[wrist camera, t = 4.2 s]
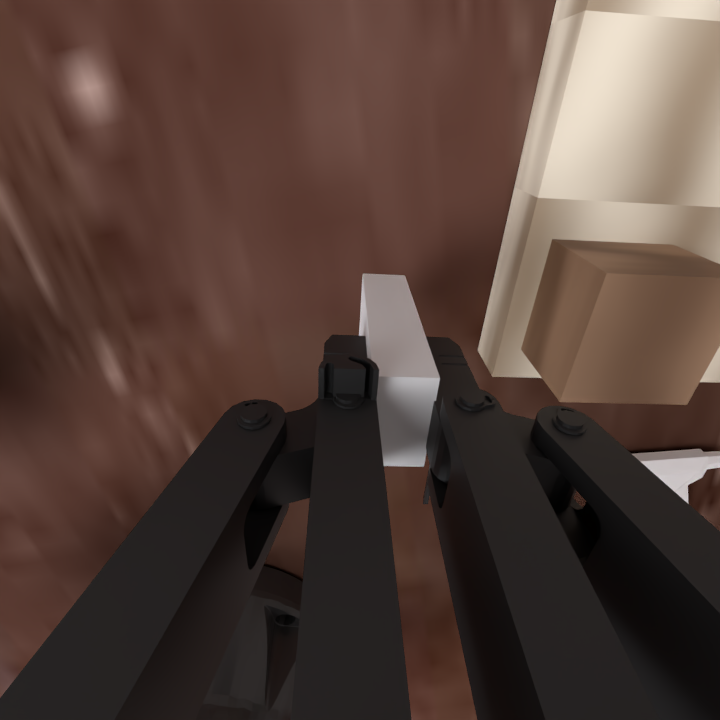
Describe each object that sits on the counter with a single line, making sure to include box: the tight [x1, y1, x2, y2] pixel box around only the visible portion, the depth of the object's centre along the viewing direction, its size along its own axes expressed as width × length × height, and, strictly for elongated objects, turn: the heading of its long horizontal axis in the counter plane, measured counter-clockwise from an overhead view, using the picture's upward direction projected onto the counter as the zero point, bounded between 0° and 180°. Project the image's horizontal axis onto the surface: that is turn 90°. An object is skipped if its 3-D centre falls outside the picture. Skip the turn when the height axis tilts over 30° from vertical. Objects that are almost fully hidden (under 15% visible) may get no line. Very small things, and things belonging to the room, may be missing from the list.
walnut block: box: [521, 239, 720, 405], centre depth 16 cm, size 5×5×4 cm
